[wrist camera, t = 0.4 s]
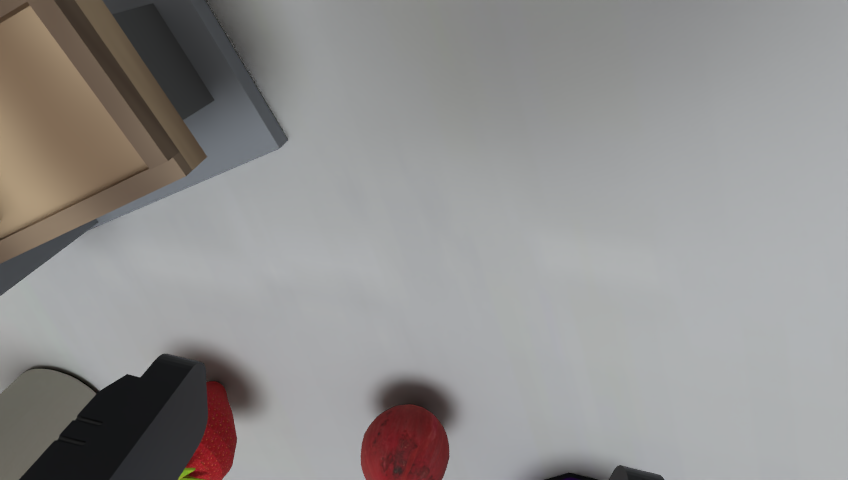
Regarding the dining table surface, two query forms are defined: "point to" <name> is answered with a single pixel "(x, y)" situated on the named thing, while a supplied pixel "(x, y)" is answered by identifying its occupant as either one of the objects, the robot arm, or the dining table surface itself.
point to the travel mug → (36, 416)
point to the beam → (78, 122)
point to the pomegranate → (405, 446)
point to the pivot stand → (182, 104)
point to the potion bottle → (570, 477)
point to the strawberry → (214, 439)
